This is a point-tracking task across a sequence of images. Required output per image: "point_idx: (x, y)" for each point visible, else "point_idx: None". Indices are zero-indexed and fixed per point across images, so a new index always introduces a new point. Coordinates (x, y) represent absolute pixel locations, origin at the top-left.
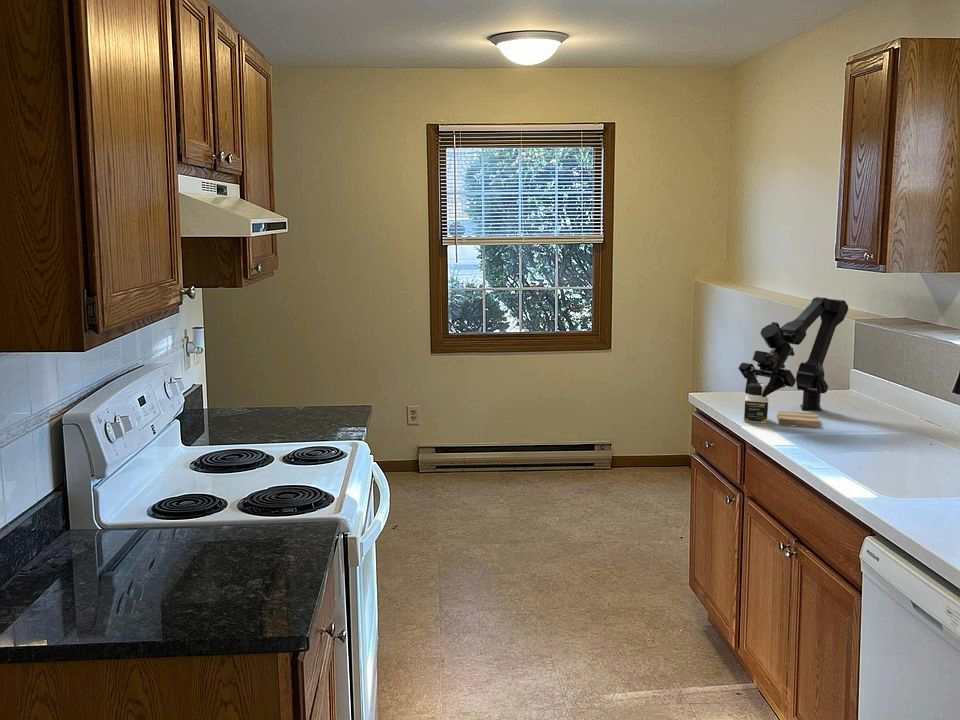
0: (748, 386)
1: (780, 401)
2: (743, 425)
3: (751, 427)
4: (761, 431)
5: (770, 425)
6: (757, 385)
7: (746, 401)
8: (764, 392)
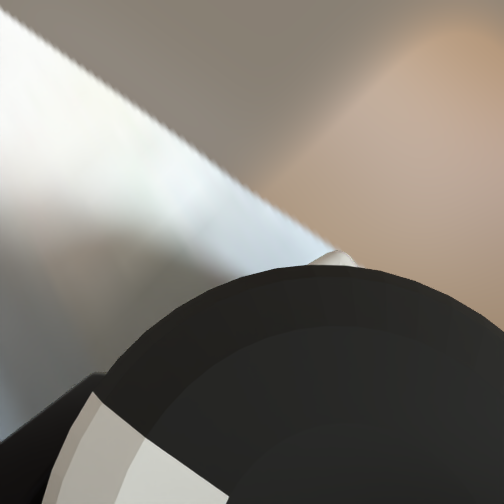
0: (472, 314)
1: None
2: (229, 196)
3: (150, 185)
4: (32, 132)
5: (65, 370)
6: (223, 348)
7: (323, 258)
8: (57, 407)
